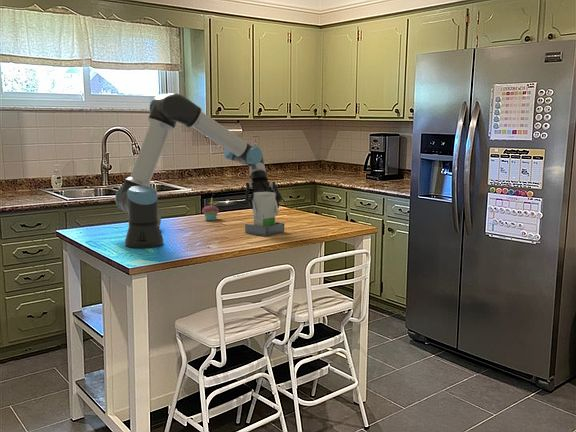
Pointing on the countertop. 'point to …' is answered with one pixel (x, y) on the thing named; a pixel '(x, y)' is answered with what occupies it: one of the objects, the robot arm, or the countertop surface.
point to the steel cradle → (264, 229)
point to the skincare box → (264, 208)
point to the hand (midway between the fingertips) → (266, 213)
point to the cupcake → (210, 212)
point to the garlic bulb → (159, 220)
